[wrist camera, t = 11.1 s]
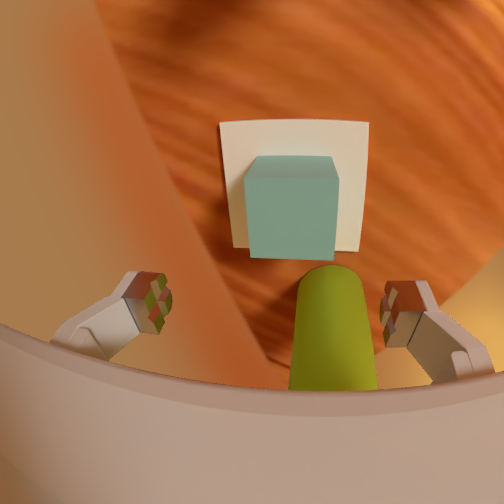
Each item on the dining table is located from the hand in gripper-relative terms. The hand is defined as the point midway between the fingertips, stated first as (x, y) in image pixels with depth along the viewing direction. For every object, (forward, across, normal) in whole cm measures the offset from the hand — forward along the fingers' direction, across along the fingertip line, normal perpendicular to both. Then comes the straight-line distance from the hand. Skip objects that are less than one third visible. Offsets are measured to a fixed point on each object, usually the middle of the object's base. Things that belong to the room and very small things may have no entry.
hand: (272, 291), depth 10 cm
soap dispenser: (+12, -3, +10) cm, 16 cm away
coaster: (+12, 0, +1) cm, 12 cm away
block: (+12, 0, +1) cm, 12 cm away
